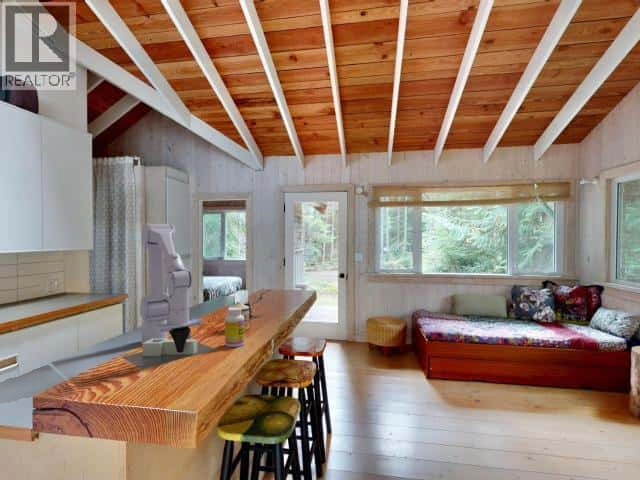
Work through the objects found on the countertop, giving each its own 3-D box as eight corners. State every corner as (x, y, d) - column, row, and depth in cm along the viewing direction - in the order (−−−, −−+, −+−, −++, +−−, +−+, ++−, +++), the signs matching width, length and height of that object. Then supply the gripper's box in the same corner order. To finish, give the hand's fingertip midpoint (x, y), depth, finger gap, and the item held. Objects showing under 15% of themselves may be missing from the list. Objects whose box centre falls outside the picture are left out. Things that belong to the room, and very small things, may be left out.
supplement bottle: (239, 347, 122) (239, 310, 122) (222, 347, 123) (221, 310, 123) (247, 342, 128) (246, 307, 128) (230, 341, 129) (230, 306, 130)
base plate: (121, 358, 112) (121, 356, 112) (192, 342, 130) (192, 340, 130) (142, 370, 101) (142, 368, 101) (217, 350, 119) (217, 349, 119)
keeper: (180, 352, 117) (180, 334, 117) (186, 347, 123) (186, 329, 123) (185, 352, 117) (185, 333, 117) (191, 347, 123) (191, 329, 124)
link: (142, 356, 113) (142, 343, 113) (152, 350, 118) (152, 338, 119) (191, 355, 112) (191, 343, 112) (199, 350, 118) (198, 338, 118)
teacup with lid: (246, 331, 145) (246, 303, 145) (224, 331, 145) (224, 303, 145) (253, 325, 156) (253, 298, 157) (233, 325, 157) (233, 298, 157)
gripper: (161, 313, 104) (162, 360, 104) (206, 306, 114) (207, 348, 114) (151, 311, 109) (152, 355, 108) (196, 304, 119) (196, 344, 119)
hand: (180, 351), depth 112 cm, fingers closed
